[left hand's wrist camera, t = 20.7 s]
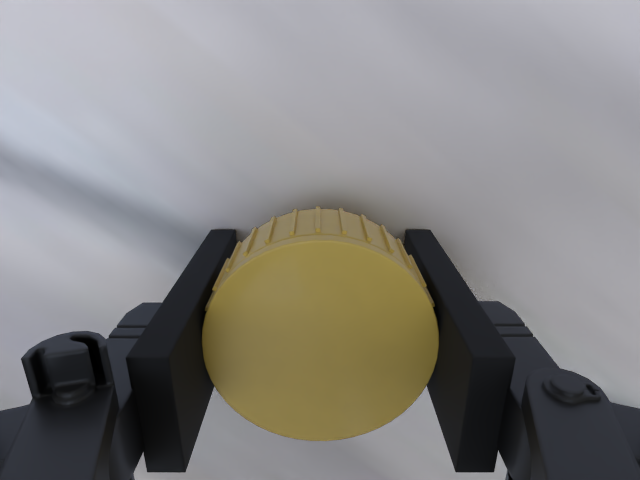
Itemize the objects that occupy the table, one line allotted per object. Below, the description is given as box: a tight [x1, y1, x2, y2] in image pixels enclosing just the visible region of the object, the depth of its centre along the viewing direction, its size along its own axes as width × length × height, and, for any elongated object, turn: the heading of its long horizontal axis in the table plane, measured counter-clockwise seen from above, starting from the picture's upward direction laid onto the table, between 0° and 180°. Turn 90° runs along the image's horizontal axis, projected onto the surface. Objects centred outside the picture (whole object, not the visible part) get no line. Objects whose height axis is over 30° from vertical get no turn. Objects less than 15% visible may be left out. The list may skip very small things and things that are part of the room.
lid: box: [202, 206, 439, 441], centre depth 11 cm, size 6×6×2 cm
